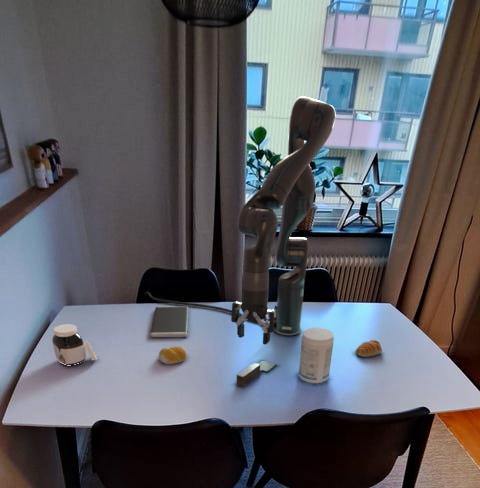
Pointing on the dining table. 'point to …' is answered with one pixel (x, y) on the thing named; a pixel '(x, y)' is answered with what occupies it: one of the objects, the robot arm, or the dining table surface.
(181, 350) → the bread roll
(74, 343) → the spread jar
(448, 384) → the dining table surface
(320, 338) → the supplement tub
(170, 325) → the grey tablet slab
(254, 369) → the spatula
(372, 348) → the pastry
